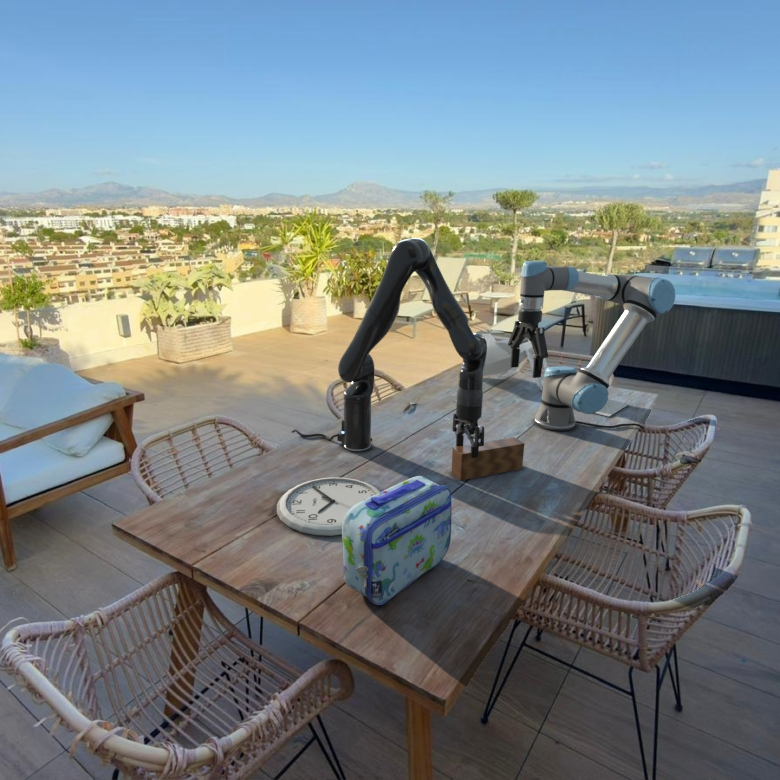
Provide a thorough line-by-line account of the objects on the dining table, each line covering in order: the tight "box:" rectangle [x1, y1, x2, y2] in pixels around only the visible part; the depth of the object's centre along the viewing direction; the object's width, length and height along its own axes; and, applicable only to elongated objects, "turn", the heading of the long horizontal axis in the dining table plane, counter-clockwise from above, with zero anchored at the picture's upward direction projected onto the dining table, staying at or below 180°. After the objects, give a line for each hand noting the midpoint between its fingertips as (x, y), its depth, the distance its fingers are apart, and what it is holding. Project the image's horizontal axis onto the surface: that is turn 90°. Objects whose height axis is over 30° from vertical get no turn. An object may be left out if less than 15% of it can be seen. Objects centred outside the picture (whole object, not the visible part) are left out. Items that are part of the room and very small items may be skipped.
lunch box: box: [341, 475, 453, 606], centre depth 111 cm, size 26×11×21 cm, turn 134°
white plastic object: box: [481, 307, 549, 391], centre depth 258 cm, size 37×45×31 cm
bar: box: [451, 436, 526, 481], centre depth 163 cm, size 23×6×9 cm, turn 113°
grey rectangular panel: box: [595, 399, 629, 418], centre depth 226 cm, size 21×1×15 cm
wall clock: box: [276, 476, 382, 537], centre depth 142 cm, size 30×2×30 cm
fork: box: [403, 396, 419, 412], centre depth 222 cm, size 3×16×2 cm, turn 160°
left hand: (466, 452), depth 159 cm, fingers open, 8 cm apart
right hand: (525, 372), depth 177 cm, fingers open, 13 cm apart
